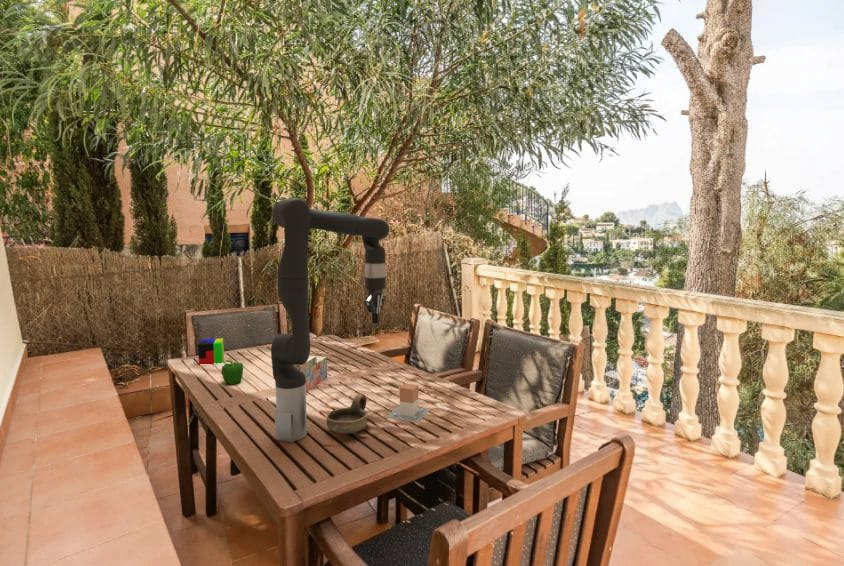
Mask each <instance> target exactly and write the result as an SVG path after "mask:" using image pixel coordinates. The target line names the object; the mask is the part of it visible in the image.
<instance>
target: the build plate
mask: <svg viewBox="0 0 844 566" xmlns="http://www.w3.org/2000/svg"><path fill="white" fill-rule="evenodd" d="M430 411H431V409H430V408H425V407H419V406H418V412H417V413H416V414H415V415H414V416H413V417H410V416H404V415H400V404H399V405H398V406H397V407H395V408H394V409H393V410H392V411H391V412H390V413H389V414H388V415H387V416H386V418H389V419H393V420H394V419H395V420H399V421H406V422H411V423H416V424H419V423H420V422H421V421H422V419H424V418H425V416H427V414H428V413H429V412H430Z"/></svg>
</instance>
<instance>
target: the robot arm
mask: <svg viewBox="0 0 844 566" xmlns="http://www.w3.org/2000/svg"><path fill="white" fill-rule="evenodd" d="M271 215H272V219H273V221H274V222H275V224H277V225H278V226H279V227H281V228H283V229H284V248H283V251H282V254H281V257H280V260H279V263H278V266H277V267H278V268H277V273H276V277H277V278H276V281H277V283H276V284H277V285H276V286H277V287H276V289H277V290H276V292H277V296H278V298H279V300H280V303H281V304H282V307H284V310H285V311H286V313H287V315H288V317H289V320H290V323H291V330H292V331H291V332H292V333H278V334H277V335H276V336H274V338H273V340H272V342H271V348H270V357H271V367H272V377H273V379H274V381H275V404H276V405H275V407H276V409H275V411H274V430H275V431H274V432H275V440H276V441H277V440H278V441H281V442H287V443H293V442H295V441H299V440H301V439H304V438H305V437H306V436H307V435H308V427H307V426H308V421H307V420H308V419H307V417H308V416H307V391H306V378H305V374H304V373H303V372H301V371H300V370H298V369H297V368H295V367H294V365H303V364H305V363H306V362H307V360H308V358H309V356H310V354H311V338H310V335H311V334H310V325H309V312H308V311H309V309H308V307H309V305H308V304H309V303H308V301H309V299H308V298H309V261H308V260H309V248H308V247H309V246H308V245H309V237H310V236H309V235H310V229H314V230H321V231H326V232H331V233H337V234H341V235H346V236H347V235H348V236H355V237H361V239H362V244H363V247H364V251H365V254H364V256H365V259H364V260H365V263H364V289H366V290H368V293H367V299H364V304H365V306H366V309H367V311H368V313H370V314H371V323H372V324H373V325H377V324H379V323H380V314H381V311H382V310H383V309H384V305H385V303H386V298H387V295H384V292H383V290H386V289H387V269H386V268H387V267H386V249H385V247H383V246H381V244H380V240H383V239H385V238H386V237H388V236H389V233H390V225H389V224H388V222H386V221H385V220H383V219H381V218H376V217H366V216H360V215H356V214H352V213H346V212H339V211H333V210H332V211H331V210H330V211H329V210H319V209H314V208H310V206H309V205H308V203H307V201H306V200H303V199H302V198H298V197H293V198H291V197H290V198H285V199H282V200H279V201H277V203H275V204H274V206H273V208H272V211H271Z"/></svg>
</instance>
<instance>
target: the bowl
mask: <svg viewBox="0 0 844 566" xmlns="http://www.w3.org/2000/svg"><path fill="white" fill-rule="evenodd" d="M366 406H367V397H366V395H365V394H363V393H358V394H356V395H355V396H354V397H353V399H352V402H351V405H350V406H346V407H343V408H342V407H341V408H337V409H334V410H331V411H329V412H327V414H326V416H325V417H326V426H327V429H329V430H330V431H332V432H335V433H339V434H344V435H351V434H355V433H358V432H360V431H362V430H363V429H365V428H366V426H367V424H368V415H369V413H368V411H366V410H365V409H366Z"/></svg>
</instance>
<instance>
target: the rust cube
mask: <svg viewBox="0 0 844 566" xmlns="http://www.w3.org/2000/svg"><path fill="white" fill-rule="evenodd" d="M417 399H418V400H419V384H416V383H408V382H405V383H403V384H402V385H401V386H400V387H399V402H400V401H401V402H407V403H414V402H415V401H416V400H417Z"/></svg>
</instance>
